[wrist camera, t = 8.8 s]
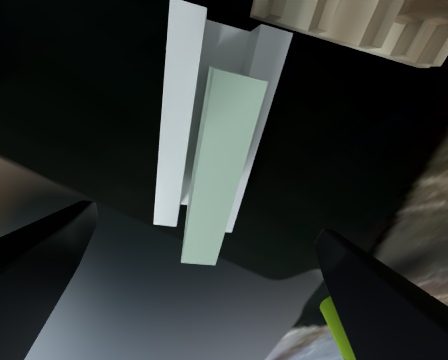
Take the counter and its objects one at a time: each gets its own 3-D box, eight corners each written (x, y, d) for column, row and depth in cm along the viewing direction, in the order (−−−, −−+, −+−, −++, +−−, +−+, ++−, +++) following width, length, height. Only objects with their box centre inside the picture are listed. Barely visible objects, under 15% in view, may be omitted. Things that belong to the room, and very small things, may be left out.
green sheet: (234, 71, 16) (268, 81, 8) (210, 181, 21) (215, 265, 12) (208, 65, 16) (214, 68, 7) (190, 178, 21) (180, 262, 12)
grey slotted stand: (271, 40, 16) (293, 33, 12) (227, 204, 24) (231, 232, 20) (179, 14, 15) (170, -4, 11) (162, 196, 22) (153, 224, 19)
